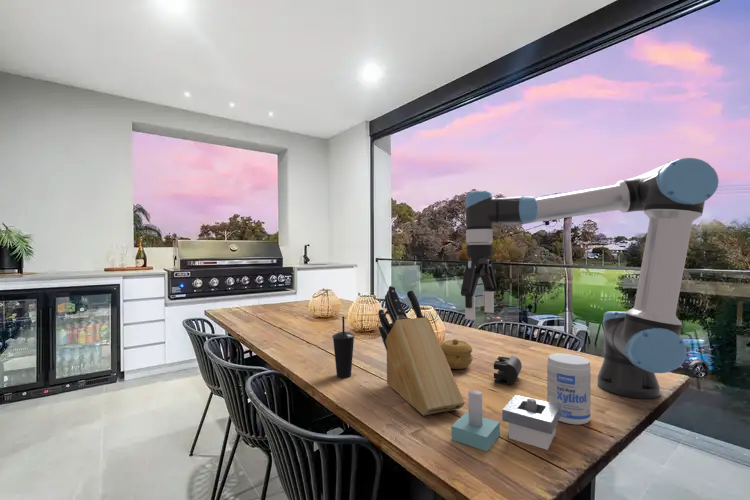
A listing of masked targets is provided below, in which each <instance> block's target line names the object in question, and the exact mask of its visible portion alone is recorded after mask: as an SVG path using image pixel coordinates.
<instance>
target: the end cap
mask: <svg viewBox="0 0 750 500" xmlns="http://www.w3.org/2000/svg"><path fill="white" fill-rule="evenodd" d="M493 370H497V372H493V381H494V383H496V384H499V385H507V386H509V385H512V384H513V383H515V381H517V379H518V377H519V375H520V373H521V370H522V362H521V360H520V359H519V358H518V357H517V356H515V355H511V356H510V357H509V356H508V357H506V356H498V357H497V359H496V360H494V363H493Z"/></svg>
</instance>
